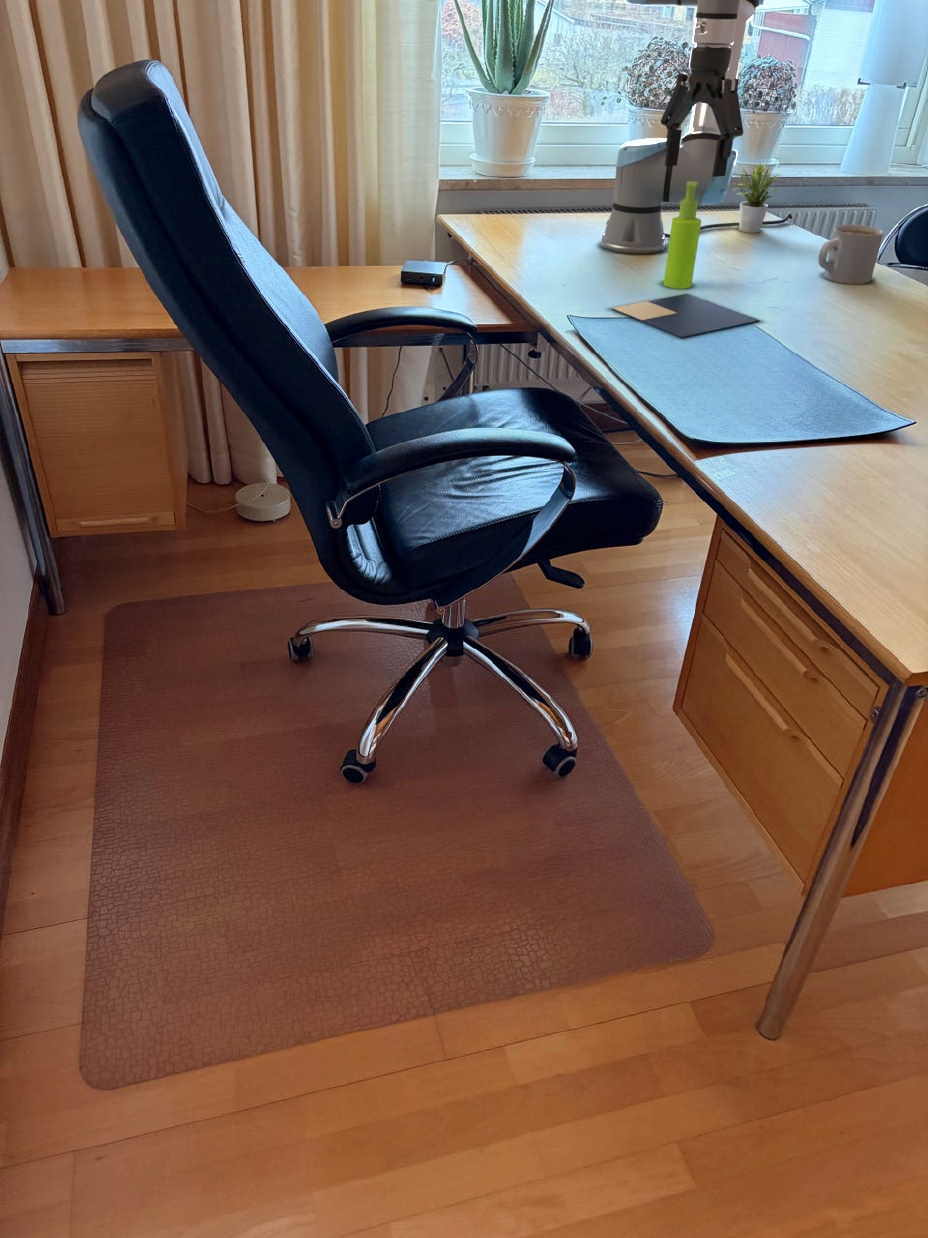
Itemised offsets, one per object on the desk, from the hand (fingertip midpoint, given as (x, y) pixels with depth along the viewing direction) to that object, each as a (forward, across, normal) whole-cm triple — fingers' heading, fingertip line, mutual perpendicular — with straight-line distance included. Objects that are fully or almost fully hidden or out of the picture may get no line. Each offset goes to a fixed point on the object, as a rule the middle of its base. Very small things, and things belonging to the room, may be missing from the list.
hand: (694, 170), depth 183 cm
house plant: (+22, -30, +52) cm, 64 cm away
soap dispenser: (+22, 0, 0) cm, 22 cm away
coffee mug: (+22, +14, +35) cm, 44 cm away
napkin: (+22, +17, -14) cm, 31 cm away
